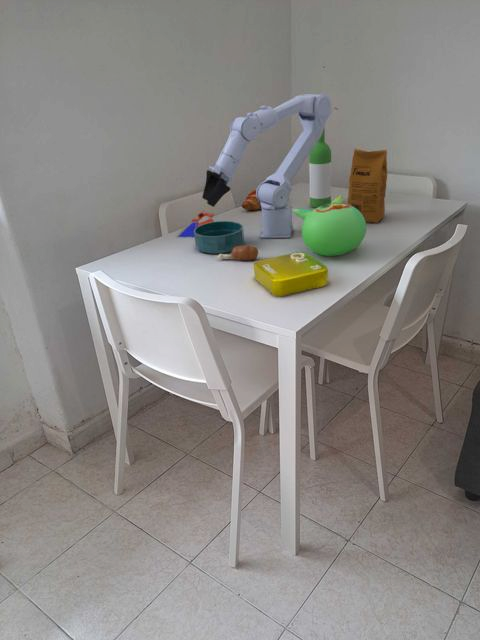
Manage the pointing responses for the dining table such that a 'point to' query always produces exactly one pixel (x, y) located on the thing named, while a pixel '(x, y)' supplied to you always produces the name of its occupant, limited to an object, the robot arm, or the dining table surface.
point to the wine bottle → (320, 173)
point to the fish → (197, 224)
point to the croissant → (252, 202)
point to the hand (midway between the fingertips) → (207, 202)
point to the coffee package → (368, 184)
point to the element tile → (290, 273)
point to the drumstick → (241, 253)
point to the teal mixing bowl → (219, 236)
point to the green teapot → (332, 228)
